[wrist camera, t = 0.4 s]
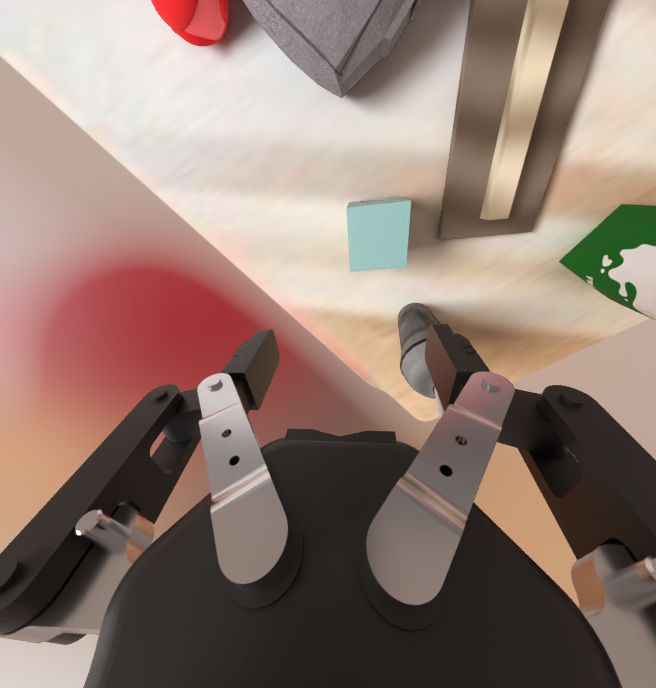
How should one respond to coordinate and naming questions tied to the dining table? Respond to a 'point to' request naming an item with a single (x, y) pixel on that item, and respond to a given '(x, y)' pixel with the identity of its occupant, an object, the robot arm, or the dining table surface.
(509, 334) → the dining table surface
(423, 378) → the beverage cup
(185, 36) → the cap
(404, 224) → the saddle block
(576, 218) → the dining table surface
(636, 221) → the milk carton
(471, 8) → the cleat board
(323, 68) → the soft grey pack
